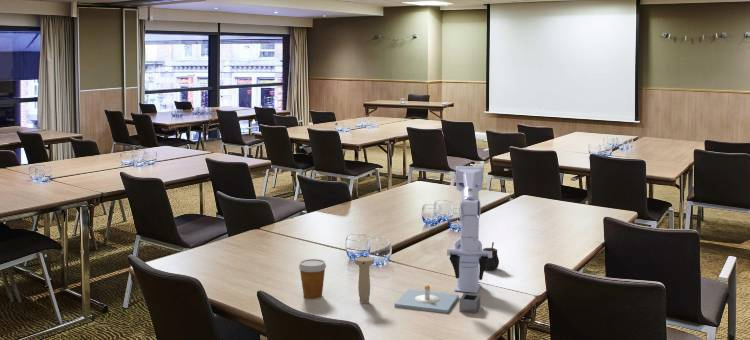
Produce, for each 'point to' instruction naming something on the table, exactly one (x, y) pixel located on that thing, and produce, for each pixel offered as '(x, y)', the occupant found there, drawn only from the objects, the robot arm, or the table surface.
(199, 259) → the table surface
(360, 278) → the handle
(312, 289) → the disposable coffee cup
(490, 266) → the mate gourd
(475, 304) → the hollow square tube
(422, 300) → the board
